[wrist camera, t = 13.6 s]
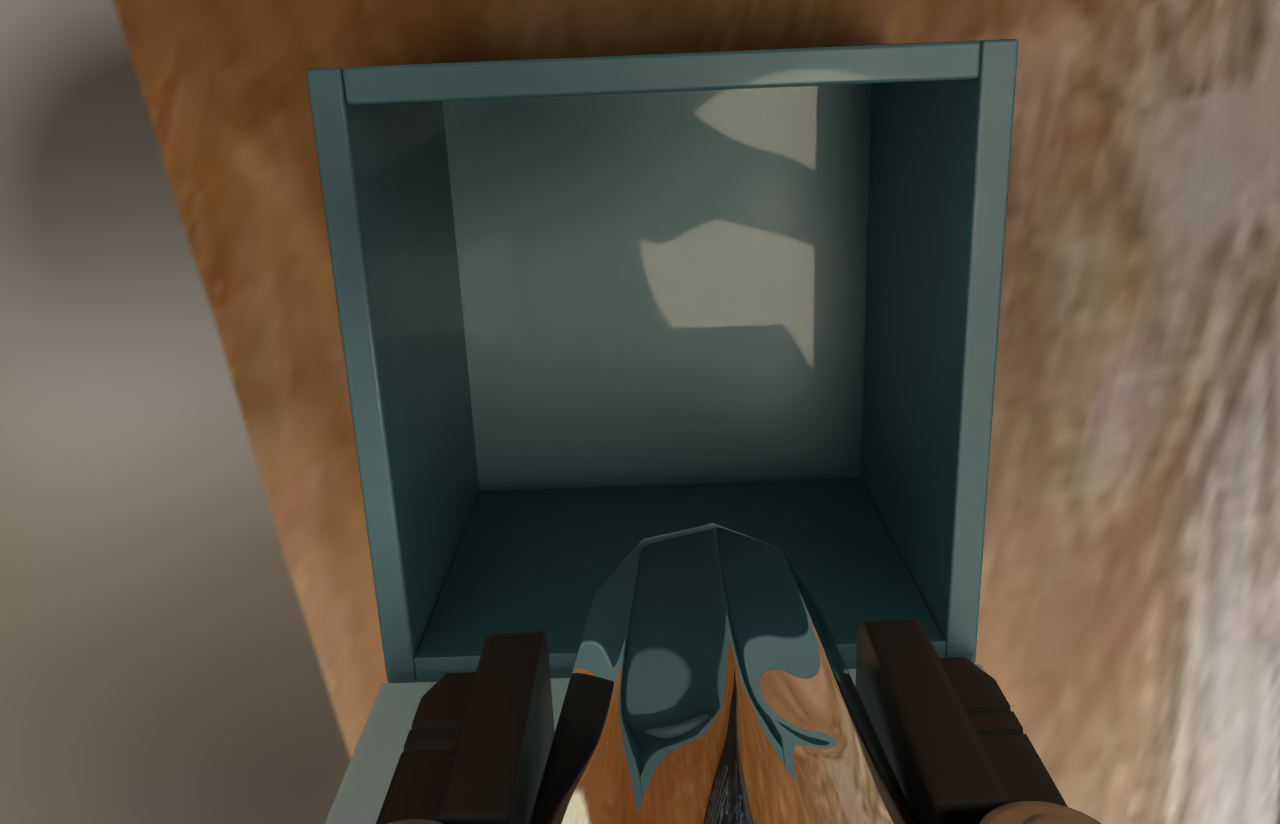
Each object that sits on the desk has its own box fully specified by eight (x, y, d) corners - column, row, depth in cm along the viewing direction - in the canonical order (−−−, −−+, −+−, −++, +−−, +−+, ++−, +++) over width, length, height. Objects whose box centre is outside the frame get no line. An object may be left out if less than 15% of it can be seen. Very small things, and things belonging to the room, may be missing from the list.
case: (420, 69, 34) (304, 68, 23) (891, 50, 34) (1019, 38, 22) (463, 503, 39) (386, 685, 28) (876, 488, 39) (975, 666, 27)
